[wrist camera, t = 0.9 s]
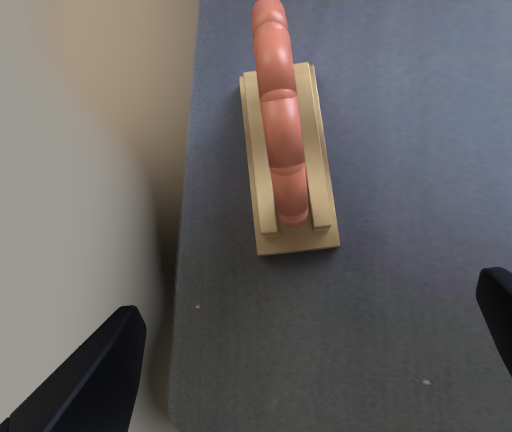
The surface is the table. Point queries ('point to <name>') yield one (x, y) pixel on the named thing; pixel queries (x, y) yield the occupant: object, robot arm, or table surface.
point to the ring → (280, 111)
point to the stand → (316, 165)
